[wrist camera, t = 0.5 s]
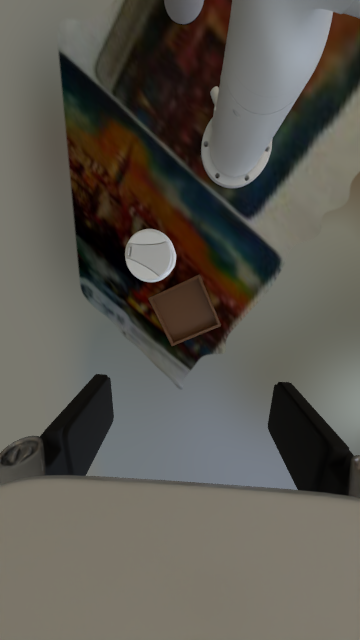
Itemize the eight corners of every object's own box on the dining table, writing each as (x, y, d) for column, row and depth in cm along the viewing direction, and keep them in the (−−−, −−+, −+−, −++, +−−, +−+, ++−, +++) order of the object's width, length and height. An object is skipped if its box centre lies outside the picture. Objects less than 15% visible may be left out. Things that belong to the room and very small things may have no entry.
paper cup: (141, 274, 42) (118, 275, 28) (148, 237, 40) (126, 220, 26) (175, 282, 42) (169, 288, 28) (184, 247, 40) (181, 234, 26)
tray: (149, 297, 43) (148, 298, 41) (199, 274, 41) (199, 274, 39) (172, 343, 45) (171, 346, 44) (219, 323, 44) (221, 325, 42)
